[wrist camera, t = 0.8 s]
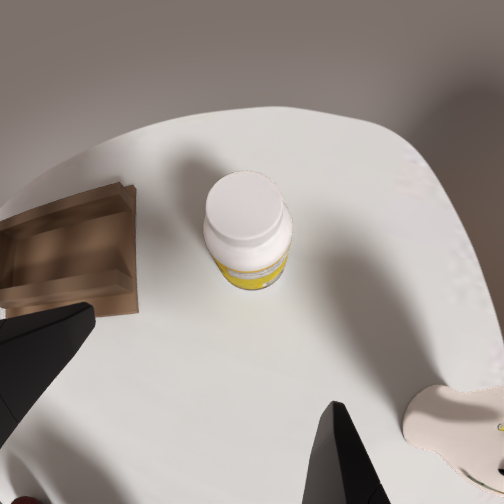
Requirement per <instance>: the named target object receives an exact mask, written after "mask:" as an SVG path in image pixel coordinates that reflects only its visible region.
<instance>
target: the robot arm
mask: <svg viewBox="0 0 504 504" xmlns="http://www.w3.org/2000/svg"><path fill="white" fill-rule="evenodd" d="M95 324H96V320H95V309H94V306H93V305H91V304H89V303H88V302H80V303H75V304H71V305H66V306H62V307H57V308H53V309H48V310H43V311H39V312H34V313H30V314H25V315H20V316H16V317H11V318H8V319H1V320H0V449H1V447H2V446H3V444H4V443H5V442H6V440H7V439H8V438H9V436H10V435H11V433H12V432H13V431H14V429H15V428H16V427H17V426H18V424H19V423H20V421H21V420H22V419H23V417H24V416H25V415H26V414H27V412H28V411H29V410H30V409H31V407H32V406H33V405H34V403H35V402H36V401H37V400H38V398H39V397H40V396H41V395H42V394H43V392H44V391H45V390H46V389H47V387H48V386H49V385H50V384H51V383H52V381H53V380H54V379H55V378H56V377H57V375H58V374H59V373H60V372H61V371H62V370H63V368H64V367H65V366H66V365H67V364H68V363H69V361H70V360H71V359H72V358H73V357H74V355H75V354H76V353H77V351H78V350H79V348H80V347H81V346H82V344H83V343H84V341H85V340H86V338H87V337H88V336H89V334H90V333H91V331H92V330H93V329H94V327H95ZM0 504H2V503H1V502H0ZM302 504H391V503H390V501H389V499H388V497H387V495H386V493H385V490H384V488H383V486H382V484H380V480H379V478H378V475H377V473H376V471H375V469H374V467H373V464H372V462H371V460H370V458H369V456H368V454H367V451H366V449H365V447H364V445H363V443H362V441H361V439H360V436H359V434H358V432H357V430H356V428H355V426H354V424H353V422H352V419H351V417H350V415H349V413H348V411H347V409H346V407H345V405H344V404H343V403H341V402H337V401H332V402H330V404H329V405H328V407H327V408H326V409H325V411H324V412H323V414H322V415H321V417H320V421H319V425H318V429H317V432H316V436H315V440H314V444H313V447H312V451H311V455H310V459H309V465H308V472H307V478H306V484H305V489H304V495H303V500H302Z"/></svg>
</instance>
